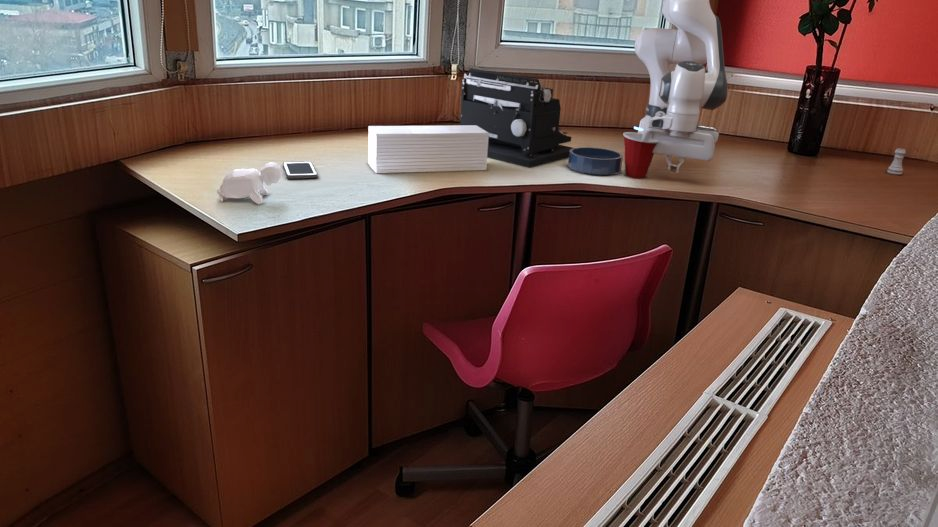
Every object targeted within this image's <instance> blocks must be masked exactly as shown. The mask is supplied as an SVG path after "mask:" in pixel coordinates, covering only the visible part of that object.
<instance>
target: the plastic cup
mask: <svg viewBox="0 0 938 527" xmlns="http://www.w3.org/2000/svg"><path fill="white" fill-rule="evenodd" d="M622 135H623V141H624V143H623V145H624V173H625V176H626V177H627V178H630V179H638V180H639V179H640V180H641V179H645V178H646V177H647V175H648V172H649V169H650V166H651V163H652V161H653V157H654V155H655V153H652V152H653V150H654V147H655V146H656V144H657V143H658V141H656V142H654V141H644V140H642V136H643V133H638V132H636V131H635V132H633V131H625V132H623V133H622Z"/></svg>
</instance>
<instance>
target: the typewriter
mask: <svg viewBox="0 0 938 527" xmlns="http://www.w3.org/2000/svg"><path fill="white" fill-rule="evenodd" d="M468 71H469V74H468V75H467V73H464V74H463V77H461V97H460V99H461V100H460V118H459V123H460V124H459V125H477V126H478V127H480V128H482V129H483V130H485V131H487V132H488V133H489V136H488V137H489V139H488V146H487V147H488V153H487V159H488V158H489V159H493V160H497V161H500V162H505V163H508V164H513V165H516V166H520V167H525V168H534V167H537V166H542V165H546V164H549V163H553V162H557V161H561V160H566V159H569V150H570V149H573V148H574V147H572V146H568V145H563V144H566V143H570V142H572V136H569V135H568V131H562V127H561V126H560V121H561V120H560V119H561V111H562V110H561V109H562V108H561V101H560V99H559V98H553V96H554V95H553V94H554V89H553V88H549V87H545V86H541V84H542V80H539V79H538V78H534V77H528V76H522V75H515V74H509V73H503V72H496V71H489V70H483V69H477V68H471V67H469V68H468ZM561 131H562V133H561Z"/></svg>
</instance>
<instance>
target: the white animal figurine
mask: <svg viewBox="0 0 938 527" xmlns="http://www.w3.org/2000/svg"><path fill="white" fill-rule="evenodd" d="M283 176H284V170H283V169H282V166H281V165H280V164H279V163H277V162H272V161H271V162H267V163H266V164H264V165H263V166H262V167H261V168H260V171H259V170H258V169H255V168H236V169H233V170H231V171H229V172H228V173H227V174H226V175H225V176H224V178H223V179H222V182H221V185H220V186H219V188H218V189H217V190H216V191H215V192H216V193H217V195H218V197H219V200H220V202H224V198H226V199H247V198H250V199H251V200H252V201H253V203H255V204H256V205H262V204H263V202H264V198H263V197H262V195H264V196H266V195H268V192H269V191H268V189H267V188H266V187H265V186H264V184H265V185H266V186H271V185H275V184H278V183H279V182H280V181H281V180H282V178H283Z"/></svg>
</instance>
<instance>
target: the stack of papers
mask: <svg viewBox="0 0 938 527" xmlns="http://www.w3.org/2000/svg"><path fill="white" fill-rule="evenodd" d="M367 129H368V134H367V135H368V137H367V138H368V140H367V141H368V142H367V143H368V144H367V145H368V146H367V149H368V150H367V151H368V152H367V154H368V155H367V156H368V157H367V163H368V164H367V165H369V167H370V168H371V169H372V170H373V171H374V172H375V174H393V173H395V174H398V173H432V172H433V173H435V172H464V171H468V172H469V171H470V172H471V171H487V167H488V157H487V153H488V147H487V146H488V139H489V137H488V136H489V133H488V132H487V131H485V130H483V129H482V128H480V127H478V126H477V125H460V124H459V125H458V124H457V125H455V124H454V125H450V124H449V125H368V127H367Z"/></svg>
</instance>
